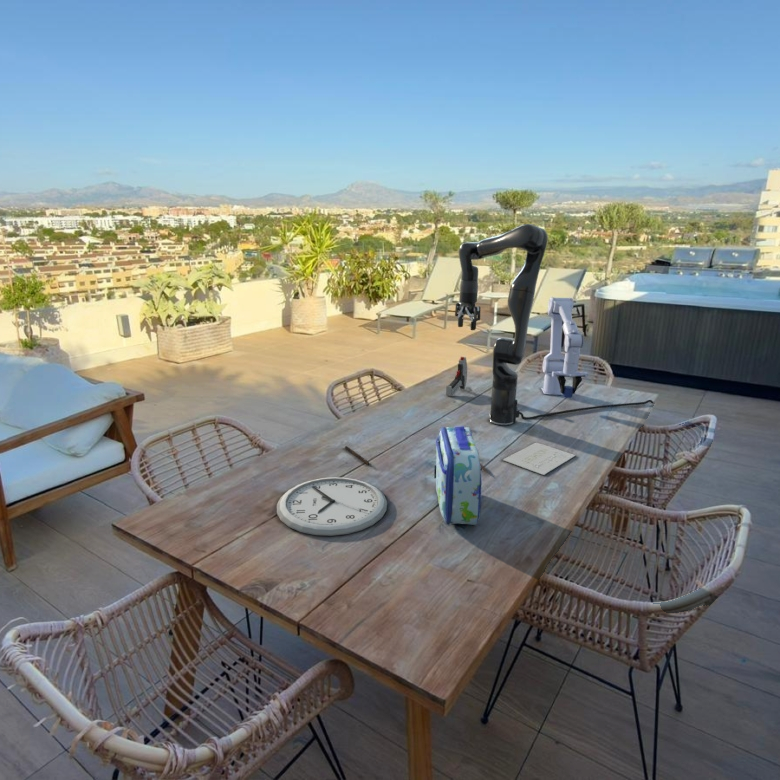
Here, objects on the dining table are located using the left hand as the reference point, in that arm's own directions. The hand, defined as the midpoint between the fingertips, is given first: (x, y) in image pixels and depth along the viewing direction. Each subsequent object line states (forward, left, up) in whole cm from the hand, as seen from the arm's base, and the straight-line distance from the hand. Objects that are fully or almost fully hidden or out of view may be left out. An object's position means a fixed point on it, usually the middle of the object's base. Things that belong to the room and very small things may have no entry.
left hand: (466, 328), depth 228 cm
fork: (+22, +68, -31) cm, 78 cm away
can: (-39, +23, -26) cm, 52 cm away
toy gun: (+1, -5, -31) cm, 32 cm away
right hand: (-39, +23, -25) cm, 51 cm away
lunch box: (+39, +92, -31) cm, 104 cm away
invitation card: (0, +68, -31) cm, 75 cm away
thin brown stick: (+59, +54, -31) cm, 86 cm away
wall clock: (+72, +84, -31) cm, 114 cm away
